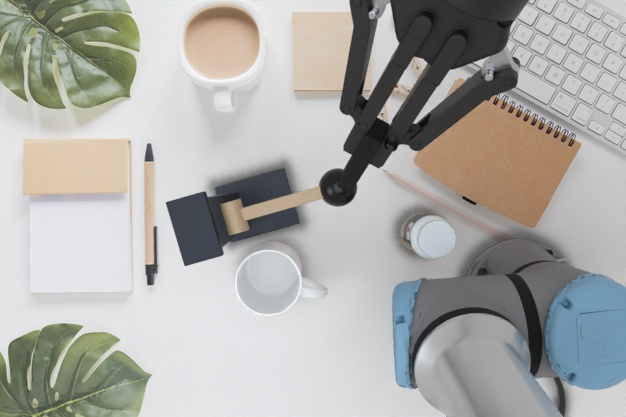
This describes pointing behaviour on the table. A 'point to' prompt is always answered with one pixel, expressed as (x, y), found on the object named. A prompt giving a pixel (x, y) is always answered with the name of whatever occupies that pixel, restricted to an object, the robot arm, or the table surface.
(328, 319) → the table surface
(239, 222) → the lever
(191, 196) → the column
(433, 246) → the pill bottle
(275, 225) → the footplate
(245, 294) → the mug
